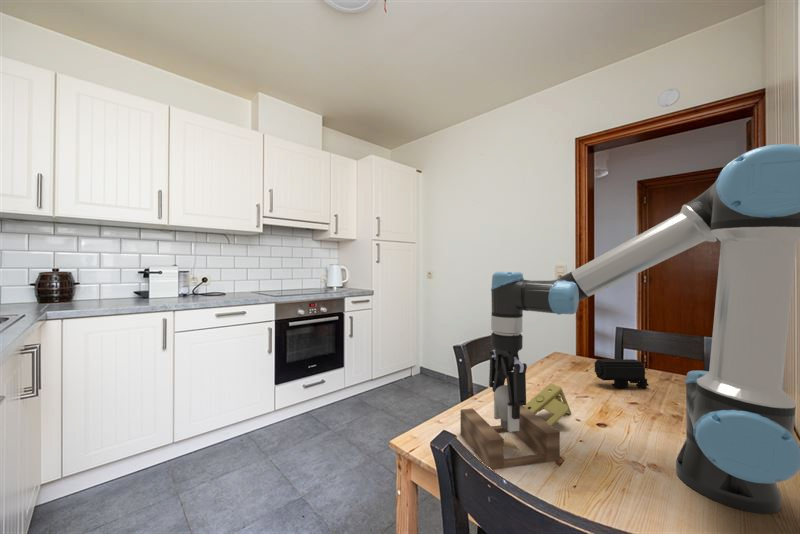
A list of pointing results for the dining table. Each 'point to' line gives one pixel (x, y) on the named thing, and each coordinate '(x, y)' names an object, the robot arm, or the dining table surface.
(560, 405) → the bracket
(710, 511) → the dining table surface
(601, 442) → the dining table surface
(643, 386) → the security camera
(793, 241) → the robot arm
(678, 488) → the dining table surface
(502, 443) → the brown open rectangular frame
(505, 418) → the lightbulb
